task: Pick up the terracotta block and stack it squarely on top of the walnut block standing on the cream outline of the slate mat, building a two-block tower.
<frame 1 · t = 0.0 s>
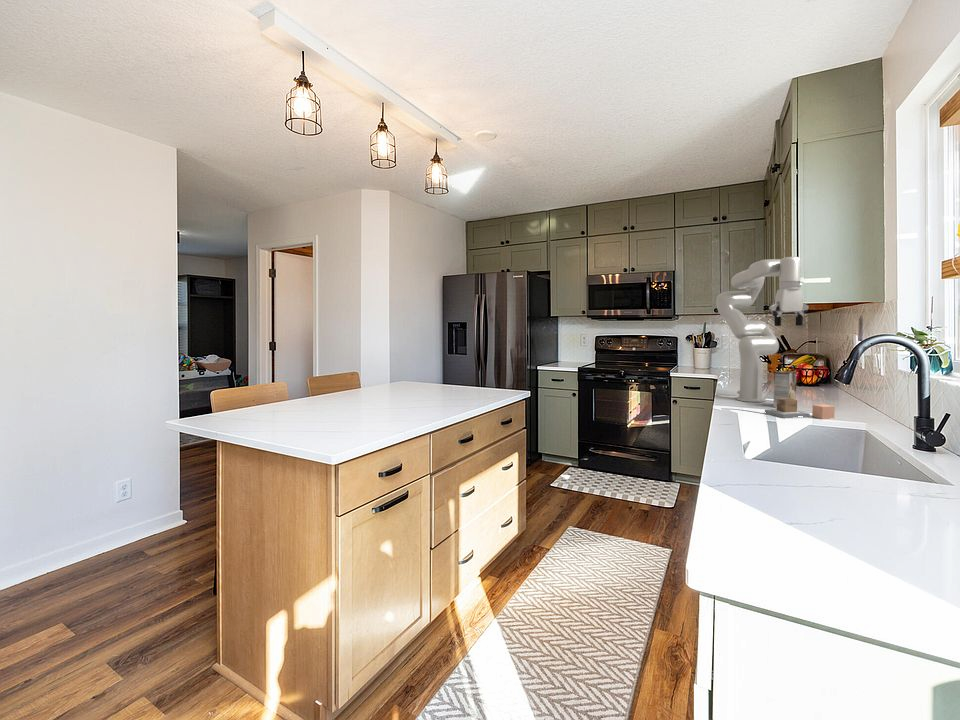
hand: (788, 325, 200), 37 cm above the worktop, tool pointing down, fingers open, 9 cm apart
slate blueprint mat: (786, 415, 190), on the worktop
terracotta block: (823, 417, 184), on the worktop
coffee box: (784, 407, 208), on the worktop
walnut block: (786, 411, 190), point 2 cm above the worktop, touching slate blueprint mat
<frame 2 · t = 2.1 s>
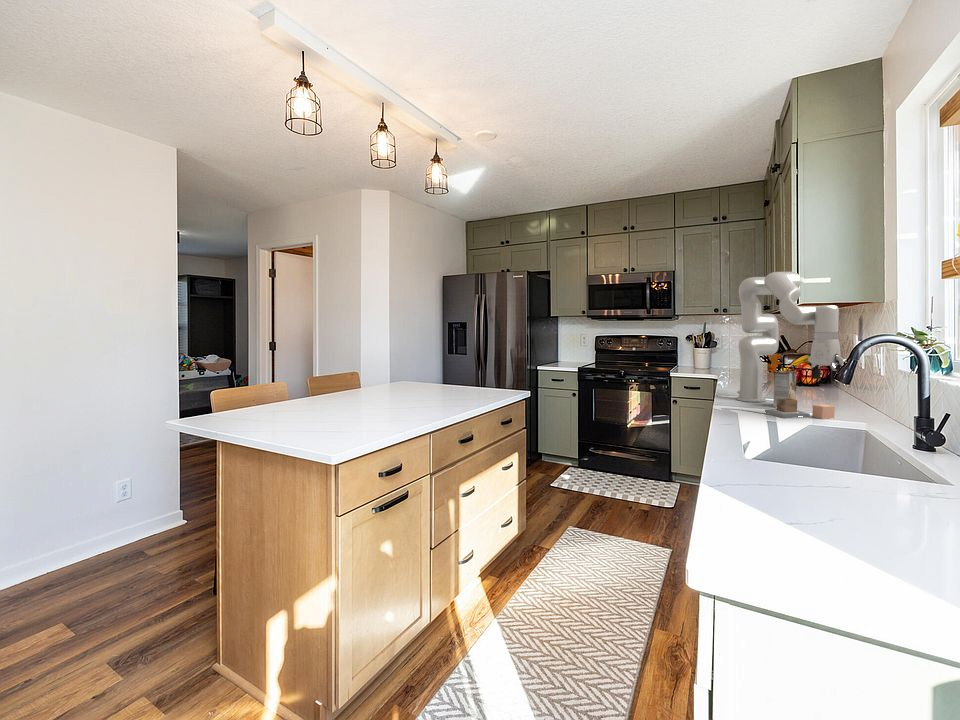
hand: (825, 379, 182), 15 cm above the worktop, tool pointing down, fingers open, 9 cm apart
nothing on the worktop moved.
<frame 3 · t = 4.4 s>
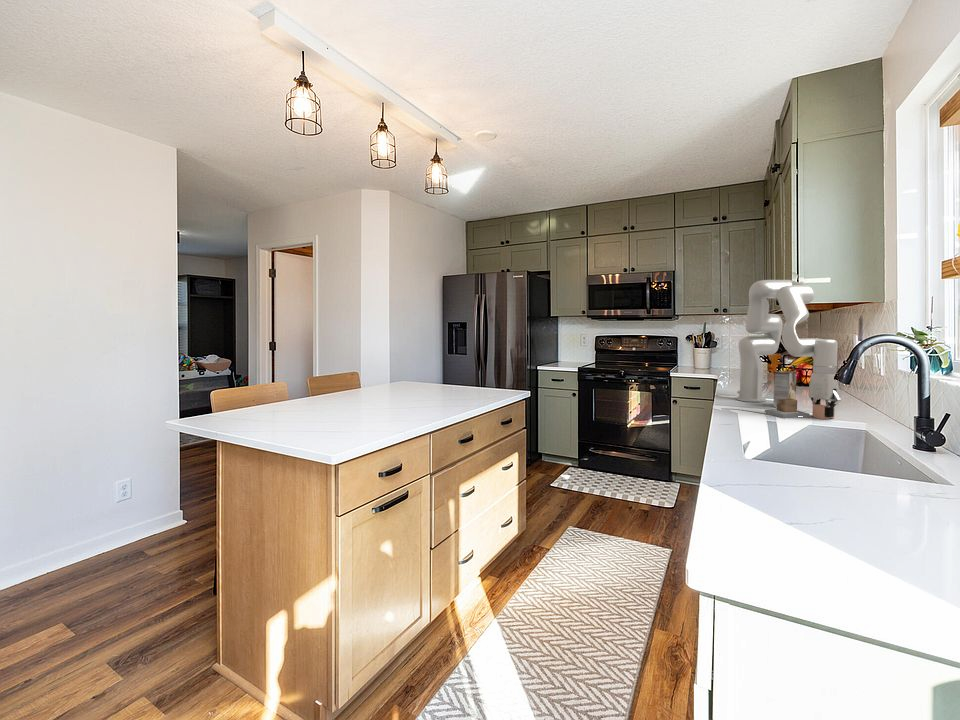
hand: (823, 415, 184), 1 cm above the worktop, tool pointing down, fingers closed on terracotta block, 5 cm apart
terracotta block: (823, 417, 184), on the worktop, touching gripper
everything else where it was.
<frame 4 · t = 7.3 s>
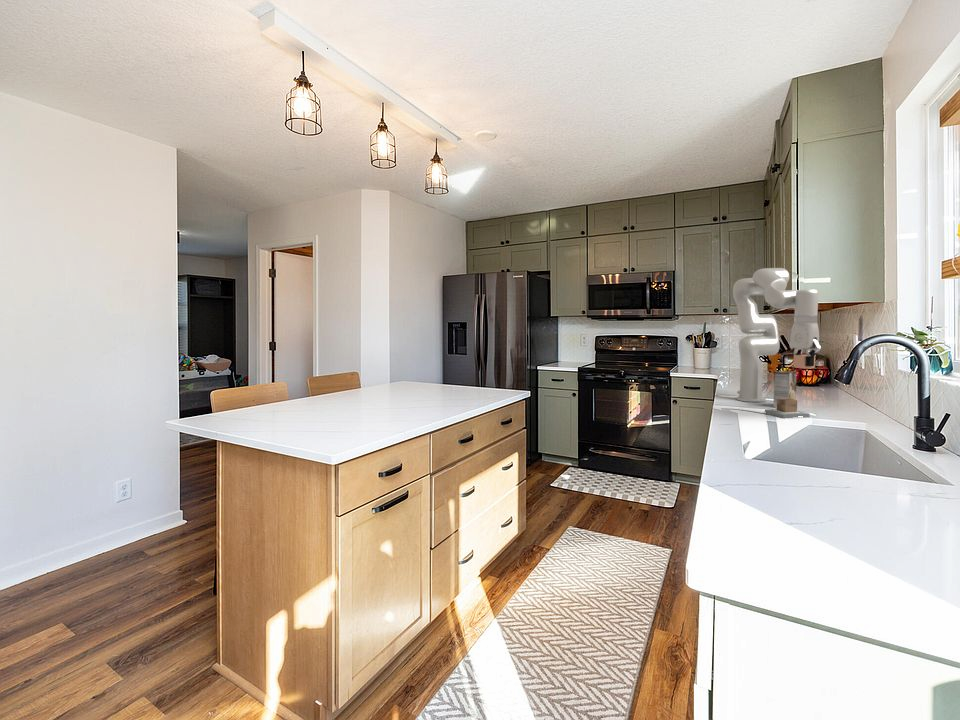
hand: (803, 365, 186), 21 cm above the worktop, tool pointing down, fingers closed on terracotta block, 5 cm apart
terracotta block: (803, 367, 186), point 20 cm above the worktop, touching gripper
everything else where it was.
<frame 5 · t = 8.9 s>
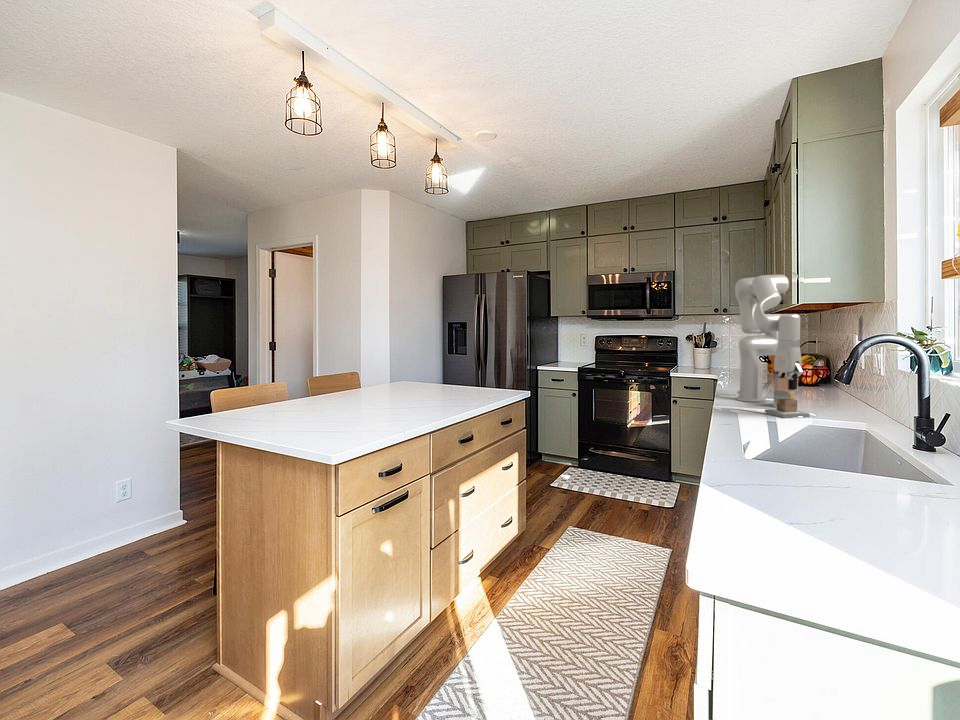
hand: (787, 388, 189), 11 cm above the worktop, tool pointing down, fingers closed on terracotta block, 5 cm apart
terracotta block: (787, 390, 189), point 10 cm above the worktop, touching gripper
everything else where it was.
when the fingers open (9 cm above the worktop, at t = 10.1 s): terracotta block drops 1 cm, resting on walnut block.
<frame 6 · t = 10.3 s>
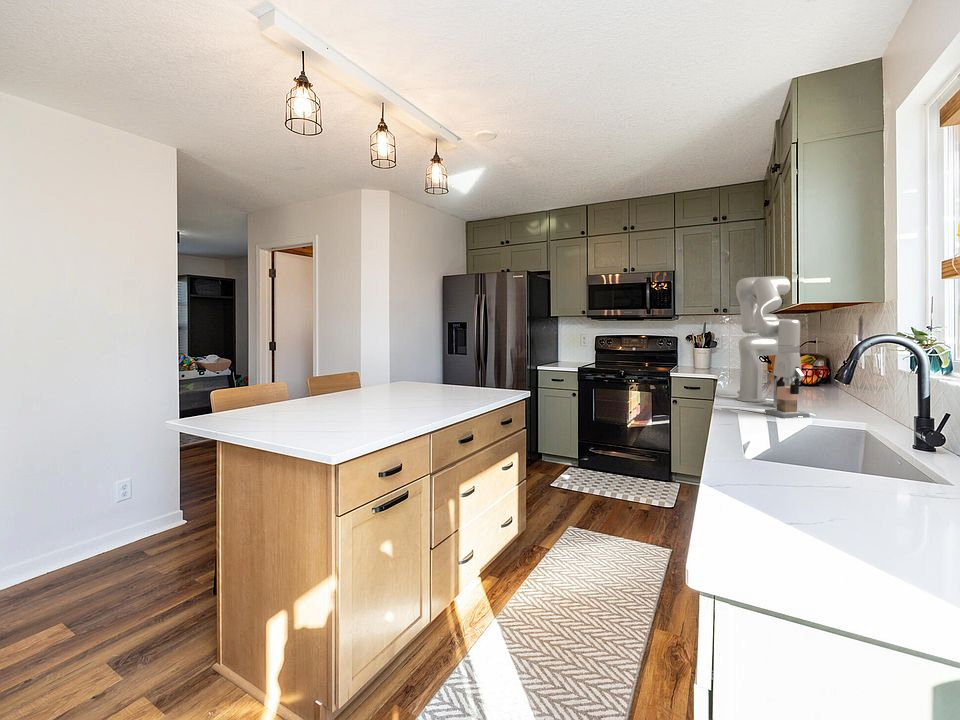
hand: (787, 392, 190), 9 cm above the worktop, tool pointing down, fingers open, 7 cm apart
terracotta block: (786, 399, 190), point 7 cm above the worktop, touching walnut block
walnut block: (786, 411, 190), point 2 cm above the worktop, touching slate blueprint mat, terracotta block
everything else where it was.
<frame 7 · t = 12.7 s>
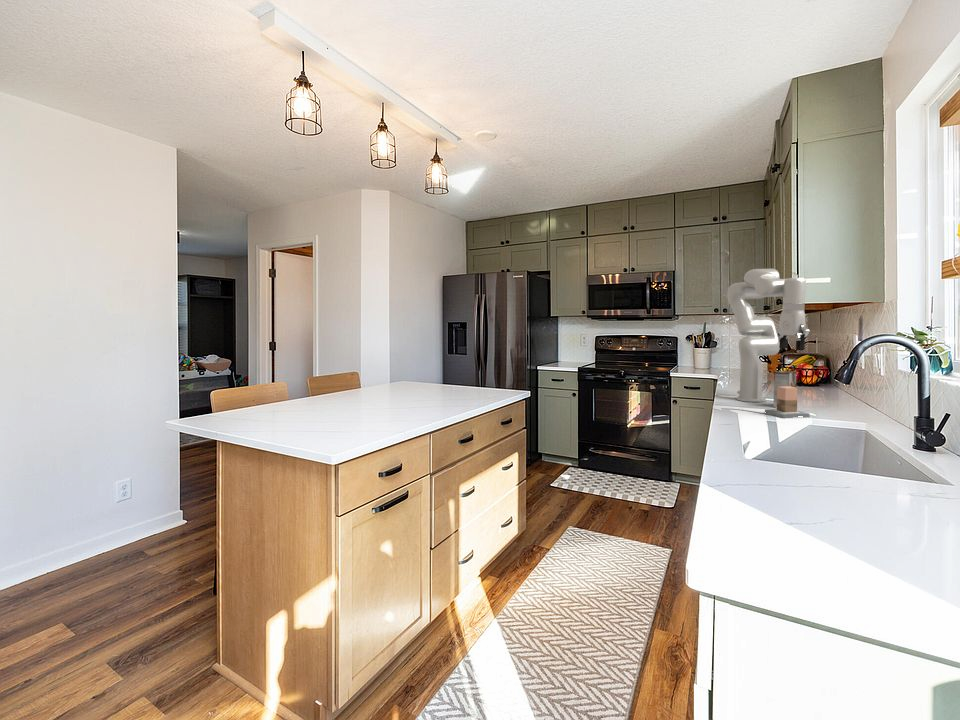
hand: (791, 349, 192), 27 cm above the worktop, tool pointing down, fingers open, 9 cm apart
nothing on the worktop moved.
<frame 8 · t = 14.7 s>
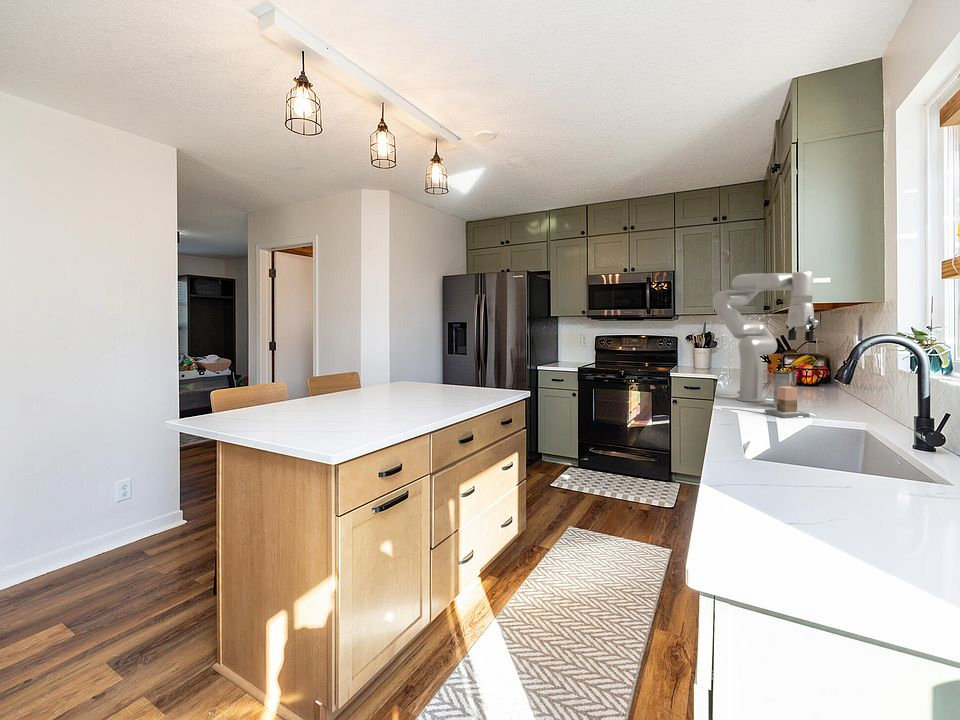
hand: (800, 340, 199), 30 cm above the worktop, tool pointing down, fingers open, 9 cm apart
nothing on the worktop moved.
at the end: terracotta block 0.1 cm off-centre on the walnut block, point 5.0 cm above the walnut block's base; terracotta block tilted 0°; the gripper is holding nothing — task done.
